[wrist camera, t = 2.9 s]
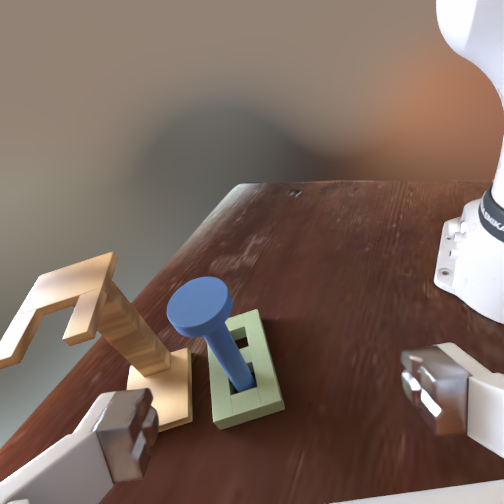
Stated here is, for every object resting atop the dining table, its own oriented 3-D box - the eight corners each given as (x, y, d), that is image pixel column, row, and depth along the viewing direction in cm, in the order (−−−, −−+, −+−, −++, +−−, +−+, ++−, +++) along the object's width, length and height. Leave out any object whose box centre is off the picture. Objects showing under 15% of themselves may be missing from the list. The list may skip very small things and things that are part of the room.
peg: (234, 361, 41) (185, 274, 30) (274, 369, 39) (237, 278, 28) (217, 405, 37) (154, 322, 26) (261, 416, 35) (211, 331, 24)
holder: (261, 318, 46) (257, 308, 44) (285, 409, 35) (281, 400, 33) (211, 335, 46) (205, 325, 44) (220, 430, 35) (213, 422, 33)
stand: (193, 430, 36) (90, 330, 23) (123, 452, 36) (-18, 365, 23) (191, 352, 44) (116, 248, 31) (135, 370, 44) (37, 274, 31)
